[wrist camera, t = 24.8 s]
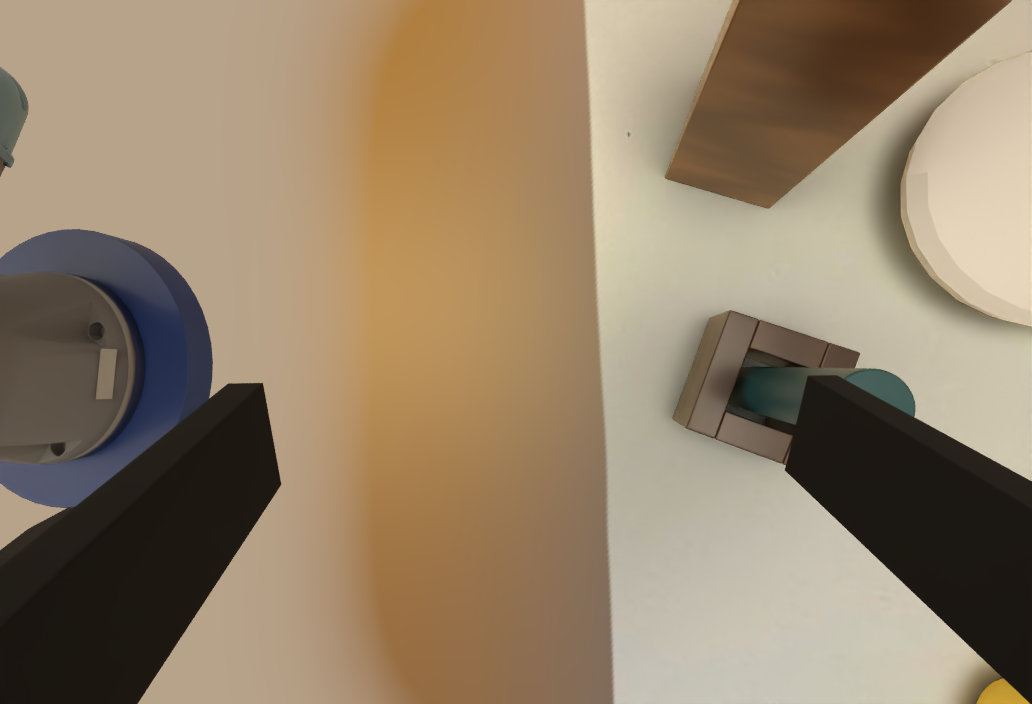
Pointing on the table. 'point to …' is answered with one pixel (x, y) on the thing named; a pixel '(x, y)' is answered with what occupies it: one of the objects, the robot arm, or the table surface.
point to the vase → (977, 192)
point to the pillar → (807, 84)
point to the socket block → (721, 367)
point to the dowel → (784, 388)
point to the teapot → (1001, 694)
